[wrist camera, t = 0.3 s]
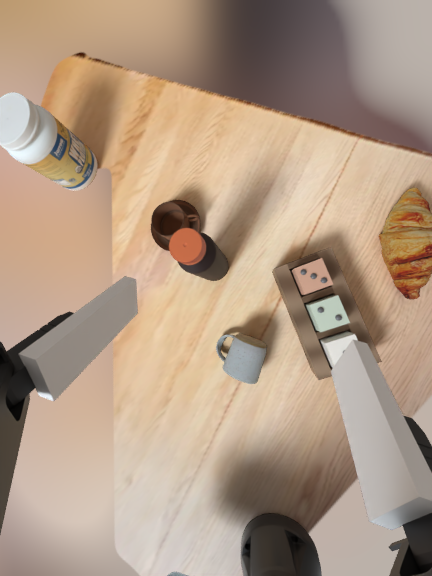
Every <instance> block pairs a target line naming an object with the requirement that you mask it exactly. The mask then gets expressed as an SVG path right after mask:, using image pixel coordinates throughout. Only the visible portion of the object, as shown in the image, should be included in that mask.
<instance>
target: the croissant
mask: <svg viewBox="0 0 432 576" xmlns="http://www.w3.org/2000/svg"><path fill="white" fill-rule="evenodd" d="M379 238H380V242H381V245H382V256H383V259H384V262H385V264H386V265H387V267H388V270H389V272H390V274H391V276H392V278H393V280H394V284H395V286H396V287H397V289H398V290H399V291H400V292H401V293H402V294H403V295H404V296H405V298H407V299H417V298H418V297H419V296H420V295H419V292H420V288H421V287H423V286H424V285H426V284H427V282H428V281H429V278H430V277H431V274H432V214H431V212H430V208H429V204H428V202H427V201H426V200H425V199H424V198H423V197H421V192H420V191H419V189H418V188H415V187H414V188H411V189H409V190H407V191H406V192H405V193H404V194H403V195H402V197H401V198H400V200H399V201H398V203H397V204H396V205H395V206H394V207H393V209H392V211H391V212H390V213H389V216H388V218H387V219H386V222H385V226H384V228H383V232H382V234H380V235H379Z"/></svg>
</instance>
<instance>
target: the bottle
mask: <svg viewBox="0 0 432 576" xmlns="http://www.w3.org/2000/svg"><path fill="white" fill-rule="evenodd" d="M169 250H170V254H171V255H172V256H173V258H174V259H175V260H177V261H178V263H179V265H180V266H181V268H182V269H184V270H185V271H187V272H189V273H191V274H194V275H197V276H199V277H202V278H205V279H207V280H211V281H217V280H219V279H221V278H223V277H224V276H225V275H226V273H227V271H228V261H227V258H226V257H225V256H224V254H223V253H222V252H221V250H220V249H219V248H218V246H217V245H216V244H215V243H214V241H213V240H212V239H211V237H209V236H208V235H206V234H204V233H200V232H197V231H196V230H194V229H190V228H182V229H179V230H178V231H177V232H175V233H174V234H173V236H172V237H171V239H170V243H169Z"/></svg>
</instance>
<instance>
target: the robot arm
mask: <svg viewBox="0 0 432 576" xmlns="http://www.w3.org/2000/svg"><path fill="white" fill-rule="evenodd" d="M137 313H138V308H137V288H136V279H133V278H130V277H126V276H125V277H123V278H122V279H121V280H119V281H118V282H116V283H115V284H114V285H112V286H111V287H110V288H108V289H107V290H105V291H104V292H103V293H101V294H100V295H99V296H97V297H96V298H94V299H93V300H92V301H90V302H89V303H88V304H86V305H85V306H84V307H82V308H81V309H79V310H78V311H77V312H75V313H72V312H67V313H65V314H63V315H60V316H58V317H56V318H55V319H53V320H52V321H51V322H49V323H48V325H45V326H43V327H42V328H40V330H37V331H36V332H35V333H33V334H31V335H30V336H28V337H27V338H26V339H24V340H23V341H21V342H20V343H18V344H17V345H15V346H14V347H13V348H11V349H10V350H8V351H7V352H6V350H5V348H4V346H3V344H2V343H1V342H0V533H1V529H2V524H3V520H4V515H5V510H6V506H7V501H8V496H9V492H10V488H11V483H12V478H13V473H14V469H15V464H16V460H17V456H18V451H19V446H20V442H21V437H22V433H23V428H24V423H25V419H26V414H27V410H28V405H29V400H30V396H29V393H30V392H31V391H32V390H33V389H34V388H36V390H37V392H38V394H39V396H41V397H44V398H46V399H49V400H52V401H55V400H56V399H57V398H58V397H59V395H61V394H62V392H63V391H64V390H65V389H66V388H67V387H68V386H69V385H70V384H71V383H72V382H73V381H74V380H75V379H76V378H77V377H78V376H79V374H81V372H82V371H83V370H84V369H85V368H86V367H87V366H88V365H89V364H90V363H91V362H92V361H93V360H94V359H95V358H96V357H97V356H98V355H99V353H100V352H101V351H102V350H103V349H104V348H105V347H106V346H107V345H108V344H109V343H110V342H111V341H112V340H113V339H114V338H115V337H116V336H117V334H118V333H119V332H120V331H121V330H122V329H123V328H124V327H125V326H126V325H127V324H128V323H129V322H130V321H131V320H132V319H133V318H134V317H135V315H136V314H137ZM331 374H332V377H333V381H334V385H335V389H336V393H337V397H338V401H339V405H340V409H341V413H342V417H343V421H344V425H345V429H346V433H347V436H348V440H349V444H350V448H351V452H352V456H353V460H354V464H355V468H356V472H357V476H358V480H359V483H360V487H361V492H362V495H363V499H364V503H365V507H366V511H367V515H368V519H369V522H372V523H375V524H377V525H380V526H382V527H385V528H388V529H390V530H393V529H396V528H398V527H401V526H403V527H404V531H405V534H406V536H407V538H406V539H402V540H400V541H397V542H394V543H392V544H391V545H390V546H389V548H390V549H391V550H392V551H394V550H398V549H399V551H398V554H397V557H396V560H395V562H394V565H393V568H392V570H391V573H390V575H389V576H432V446H431V444H430V442H429V440H428V438H427V437H426V435H425V433H424V432H423V431H422V429H421V428H420V427H419V426H418V425H417V424H416V422H415V421H414V420H413V419H412V418H409V417H406V416H403V414H402V412H401V410H400V408H399V406H398V404H397V402H396V400H395V398H394V396H393V394H392V392H391V390H390V388H389V386H388V384H387V382H386V380H385V378H384V376H383V374H382V372H381V370H380V368H379V366H378V364H377V362H376V360H375V358H374V356H373V354H372V352H371V350H370V348H369V346H368V344H367V343H364V342H360V341H357V340H352V341H351V343H350V344H349V345H348V347H347V348H346V350H345V351H344V353H343V354H342V356H341V357H340V358H339V360H338V361H337V363H336V364H335V366H334V367H333V369H332V370H331ZM241 565H242V570H243V576H322V575H321V567H320V562H319V558H318V553H317V550H316V547H315V544H314V542H313V541H312V539H311V537H310V536H309V534H308V533H307V532H306V531H305V529H304V528H303V527H302V526H300V525H299V524H298V523H297V522H295V521H294V520H292V519H290V518H288V517H285V516H283V515H278V514H265V515H261V516H258V517H256V518H255V519H253V520H252V521H251V522H250V523H249V524H248V525H247V527H246V528H245V530H244V533H243V536H242V542H241ZM168 576H187V575H185V574H182V573H179V572H172V573H170V574H169V575H168Z"/></svg>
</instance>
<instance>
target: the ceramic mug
mask: <svg viewBox="0 0 432 576" xmlns="http://www.w3.org/2000/svg"><path fill="white" fill-rule="evenodd" d="M226 337H232V338H234V339H233V341H232V344H231V347H230V350H229V352H228V355H227V357H226V358H225V357H224V356H223V355H222V353H221V346H222V343H223V341H224V340H225V338H226ZM216 350H217V354H218V356H219V357H220V358H221V359H222V360H223V361H224V365H223V370H224V371H225V372H226V373H227V374H228V375H230V376H231V377H233V378H235V379H237V380H239V381H242V382H245V383H248V384H255V383H257V381H258V378H259V375H260V372H261V368H262V365H263V361H264V358H265V355H266V350H267V346H266V344H265V343H264V342H262V341H260V340H258V339H256V338H253V337H251V336H248V335H244V334H237V335H236V336H235V335H228V334H227V335H223V336H222V337H221V338H220V339H219V340H218V342H217V346H216Z"/></svg>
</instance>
